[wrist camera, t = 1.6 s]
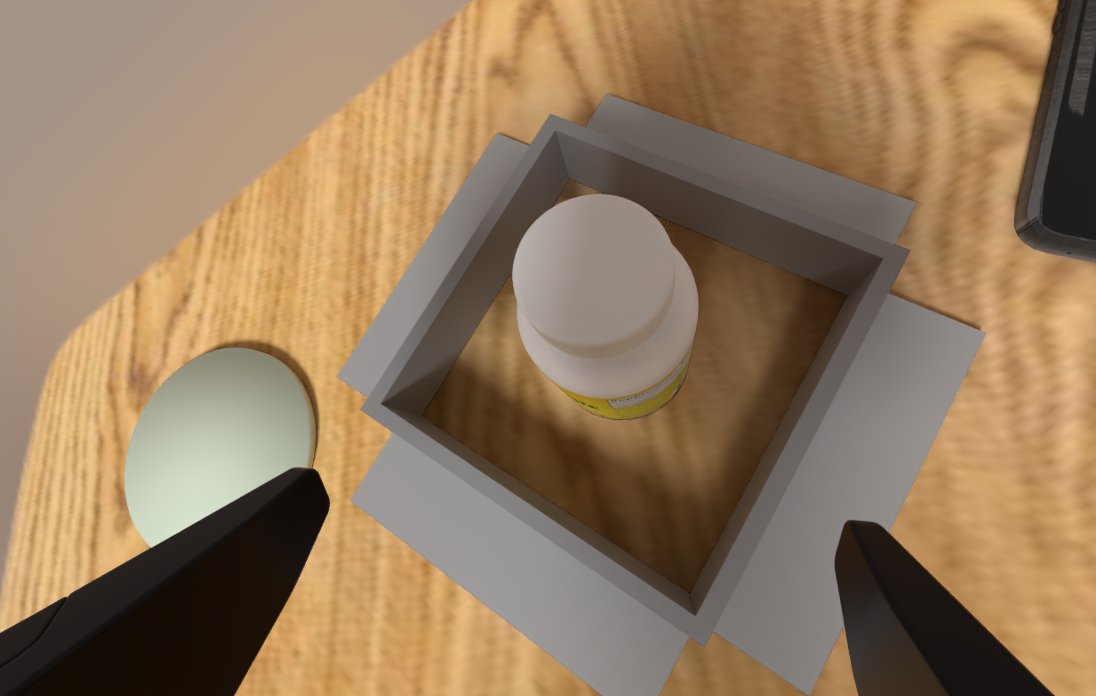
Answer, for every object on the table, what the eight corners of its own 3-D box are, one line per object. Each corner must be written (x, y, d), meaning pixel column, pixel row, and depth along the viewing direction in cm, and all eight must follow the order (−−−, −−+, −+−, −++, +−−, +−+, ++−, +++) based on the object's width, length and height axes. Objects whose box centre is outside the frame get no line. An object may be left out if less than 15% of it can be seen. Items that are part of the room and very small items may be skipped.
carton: (751, 806, 17) (773, 885, 13) (292, 452, 24) (231, 446, 20) (1025, 245, 19) (1099, 196, 16) (539, 74, 26) (521, 14, 23)
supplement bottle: (538, 335, 23) (453, 229, 13) (649, 277, 22) (639, 127, 13) (592, 447, 21) (537, 414, 12) (714, 386, 20) (756, 303, 11)
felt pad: (227, 611, 22) (218, 613, 22) (99, 486, 25) (89, 486, 25) (355, 412, 23) (349, 411, 23) (218, 316, 27) (210, 313, 26)
